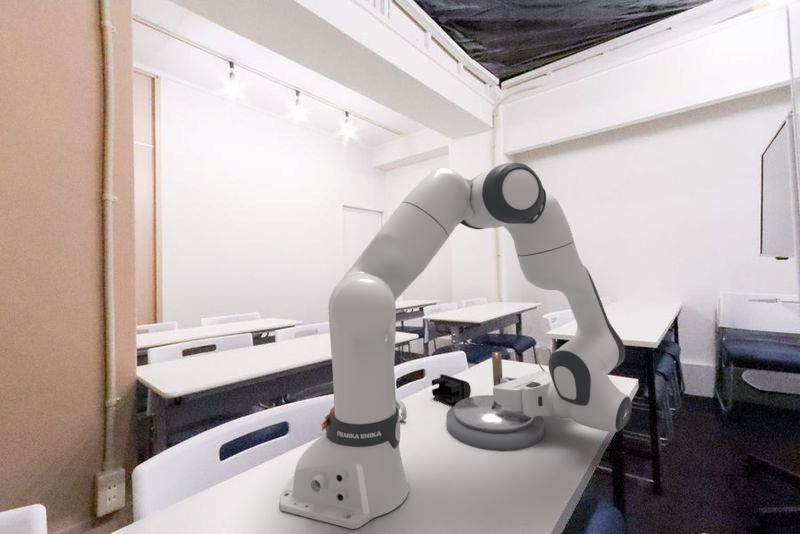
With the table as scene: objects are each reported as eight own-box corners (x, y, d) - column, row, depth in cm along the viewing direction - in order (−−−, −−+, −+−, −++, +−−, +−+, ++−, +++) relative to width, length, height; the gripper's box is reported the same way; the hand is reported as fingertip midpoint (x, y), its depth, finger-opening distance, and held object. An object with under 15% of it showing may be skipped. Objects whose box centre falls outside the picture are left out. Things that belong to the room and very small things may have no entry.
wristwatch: (400, 415, 94) (399, 397, 94) (409, 422, 90) (408, 402, 90) (390, 418, 93) (389, 399, 93) (399, 425, 88) (398, 405, 88)
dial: (529, 438, 72) (526, 374, 72) (443, 425, 81) (441, 367, 81) (537, 405, 89) (534, 353, 89) (466, 397, 98) (463, 349, 98)
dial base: (444, 447, 76) (443, 435, 76) (448, 407, 98) (448, 397, 98) (555, 452, 71) (554, 439, 71) (533, 409, 94) (532, 399, 94)
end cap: (471, 402, 102) (470, 379, 102) (454, 408, 97) (453, 384, 98) (448, 393, 110) (447, 372, 110) (431, 399, 105) (430, 377, 106)
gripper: (574, 371, 86) (527, 361, 97) (522, 390, 75) (476, 376, 86) (576, 396, 86) (528, 384, 97) (524, 419, 74) (477, 401, 86)
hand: (503, 380), depth 92 cm, fingers closed
